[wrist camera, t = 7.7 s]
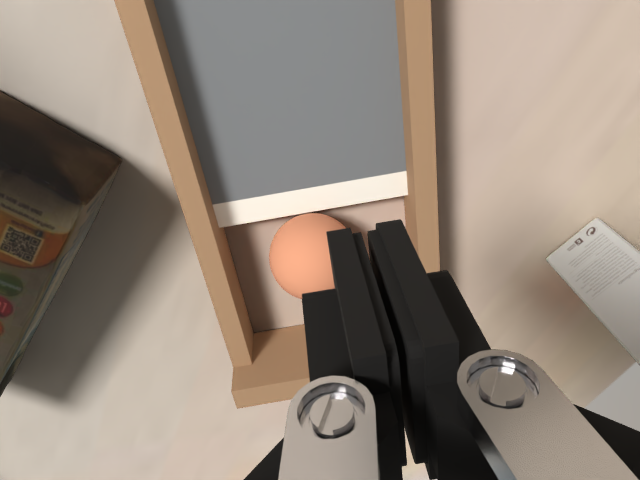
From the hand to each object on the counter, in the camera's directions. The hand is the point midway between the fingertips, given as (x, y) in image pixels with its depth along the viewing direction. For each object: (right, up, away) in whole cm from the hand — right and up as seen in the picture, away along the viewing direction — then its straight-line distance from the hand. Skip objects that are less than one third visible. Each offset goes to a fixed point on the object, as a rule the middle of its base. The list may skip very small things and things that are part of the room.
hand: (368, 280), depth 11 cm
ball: (-2, 0, +17) cm, 17 cm away
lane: (-2, +6, +17) cm, 18 cm away
